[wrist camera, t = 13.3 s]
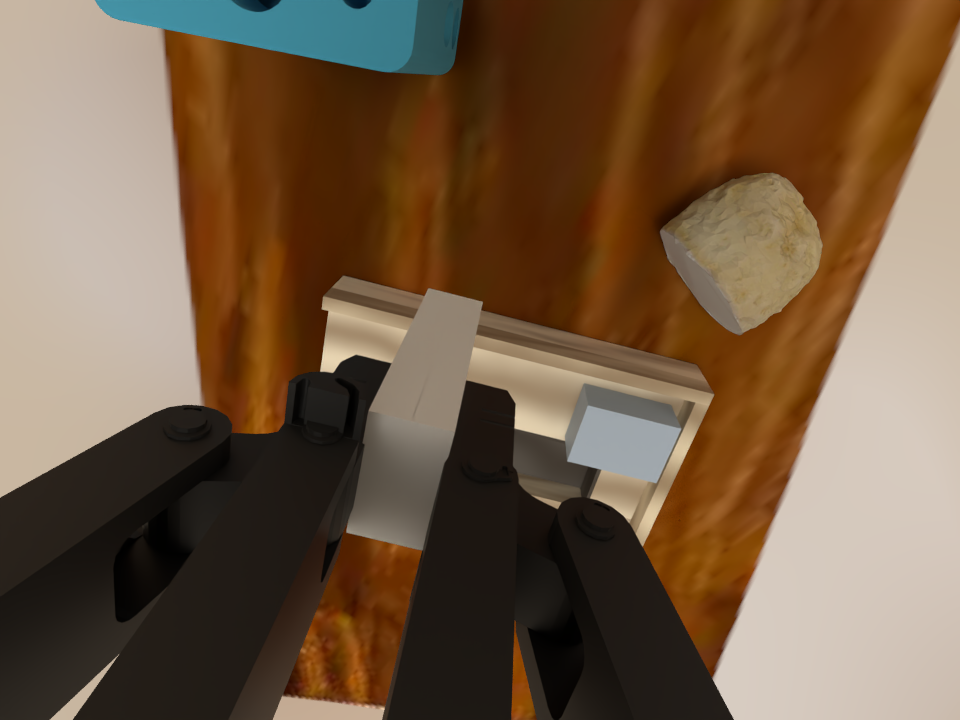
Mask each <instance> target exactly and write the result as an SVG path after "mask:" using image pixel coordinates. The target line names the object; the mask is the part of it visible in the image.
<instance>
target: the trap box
mask: <svg viewBox="0 0 960 720" xmlns="http://www.w3.org/2000/svg"><path fill="white" fill-rule="evenodd" d="M424 297H425V296H422V295H418V294H414V293H411V292H407V291H403V290H399V289H395V288H391V287H387V286H383V285H379V284H375V283H371V282H367V281H363V280H359V279H355V278H351V277H347V276H342V277H341V278H340V280H339V281H338V282H337V283H336V284H335V285H334V286H333V287H332V288H331V289H330V290H329V291H328V292H327V293H326V294H325V295H324V296H323V303H322V309H323V310H327V311H329V312H328V320H327V327H326V334H325V342H324V349H323V356H322V364H321V371H320V372H331V373H333V372H334V371H335V369H336V368H337V366H338V365H339V363H340V362H341V361H344V360H346V359H348V358H350V357H352V356H354V355H360V356H365V357H369V358H373V359H377V360H381V361H385V362H389V363H392V362H393V360H394V358H395V356H396V354H397V352H398V350H399V348H400V345H401V343H402V341H403V339H404V337H405V335H406V333H407V331H408V329H409V327H410V325H411V323H412V321H413V319H414V317H415V315H416V313H417V311H418V309H419V307H420V305H421V303H422V301H423V299H424ZM466 380H468V381H472V382H476V383H480V384H484V385H488V386H492V387H496V388H500V389H504V390H507V391H508V392H509V394H510V395H511V397H512V399H513V400H514V402H515V403H516V408H515V427H514V429H515V430H514V452H513V467H514V468H515V469H516V470H517V474H518V478H519V484H520V485H521V486H522V488H523V489H524V490H526V491H527V492H528V493H529V494H531V495H532V496H533V497H535V498H537V499H539V500H540V501H542V502H544V503H546V504H548V505H550V506H552V507H555V508H557V509H558V508H559V506H560V504H561V502H563V501H565V500H567V499H569V498H574V497H586V498H591V499H595V500H599V501H601V502H603V503H605V504H607V505H609V506H611V507H613V508H614V509H615V510H617V511H618V512H619V513H621V514H622V515H623V516H624V517H625V518H626V520H627V521H628V522H629V524H630V525H631V526H632V528H633V530H634V532H635V534H636V536H637V537H638V539H639V541H640V543H641V545H642V547H643V545H644V543H645V540H646V538H647V536H648V534H649V532H650V530H651V528H652V526H653V523H654V521H655V519H656V517H657V515H658V513H659V511H660V509H661V506H662V504H663V502H664V500H665V498H666V496H667V494H668V492H669V489H670V487H671V485H672V483H673V481H674V479H675V477H676V475H677V472H678V470H679V468H680V466H681V464H682V462H683V460H684V458H685V456H686V453H687V451H688V449H689V447H690V445H691V443H692V441H693V439H694V436H695V434H696V432H697V430H698V428H699V426H700V424H701V422H702V419H703V417H704V415H705V413H706V411H707V409H708V407H709V405H710V402H711V400H712V398H713V396H714V393H713V391H712V390H711V388H710V386H709V385H708V383H707V381H706V379H705V378H704V376H703V374H702V373H701V371H700V369H699V368H698V366H697V365H696V364H692V363H688V362H684V361H680V360H676V359H672V358H668V357H664V356H660V355H656V354H652V353H648V352H644V351H640V350H636V349H632V348H628V347H624V346H620V345H616V344H613V343H609V342H605V341H601V340H597V339H593V338H589V337H585V336H581V335H577V334H573V333H569V332H565V331H561V330H557V329H553V328H549V327H545V326H541V325H537V324H533V323H529V322H525V321H521V320H517V319H514V318H510V317H506V316H502V315H498V314H494V313H490V312H486V311H482V310H481V313H480V318H479V322H478V327H477V332H476V336H475V341H474V346H473V350H472V355H471V360H470V364H469V369H468V374H467V378H466ZM584 383H586V384H590V385H593V386H597V387H601V388H605V389H609V390H613V391H617V392H621V393H625V394H629V395H633V396H637V397H641V398H645V399H649V400H653V401H657V402H661V403H665V404H669V405H671V406H672V408H673V411H674V413H675V415H676V417H677V420H678V422H679V424H680V427H681V431H680V433H679V435H678V437H677V440H676V442H675V444H674V446H673V448H672V451H671V453H670V455H669V457H668V459H667V461H666V464H665V466H664V468H663V470H662V472H661V475H660V477H659V479H658V481H657V483H653V482H649V481H645V480H641V479H637V478H633V477H629V476H625V475H621V474H617V473H613V472H609V471H605V470H601V469H597V468H592V467H588V466H584V465H580V464H576V463H572V462H568V461H567V454H566V444H565V434H566V431H567V429H568V426H569V423H570V420H571V418H572V415H573V412H574V409H575V406H576V404H577V401H578V398H579V395H580V393H581V390H582V387H583V384H584Z"/></svg>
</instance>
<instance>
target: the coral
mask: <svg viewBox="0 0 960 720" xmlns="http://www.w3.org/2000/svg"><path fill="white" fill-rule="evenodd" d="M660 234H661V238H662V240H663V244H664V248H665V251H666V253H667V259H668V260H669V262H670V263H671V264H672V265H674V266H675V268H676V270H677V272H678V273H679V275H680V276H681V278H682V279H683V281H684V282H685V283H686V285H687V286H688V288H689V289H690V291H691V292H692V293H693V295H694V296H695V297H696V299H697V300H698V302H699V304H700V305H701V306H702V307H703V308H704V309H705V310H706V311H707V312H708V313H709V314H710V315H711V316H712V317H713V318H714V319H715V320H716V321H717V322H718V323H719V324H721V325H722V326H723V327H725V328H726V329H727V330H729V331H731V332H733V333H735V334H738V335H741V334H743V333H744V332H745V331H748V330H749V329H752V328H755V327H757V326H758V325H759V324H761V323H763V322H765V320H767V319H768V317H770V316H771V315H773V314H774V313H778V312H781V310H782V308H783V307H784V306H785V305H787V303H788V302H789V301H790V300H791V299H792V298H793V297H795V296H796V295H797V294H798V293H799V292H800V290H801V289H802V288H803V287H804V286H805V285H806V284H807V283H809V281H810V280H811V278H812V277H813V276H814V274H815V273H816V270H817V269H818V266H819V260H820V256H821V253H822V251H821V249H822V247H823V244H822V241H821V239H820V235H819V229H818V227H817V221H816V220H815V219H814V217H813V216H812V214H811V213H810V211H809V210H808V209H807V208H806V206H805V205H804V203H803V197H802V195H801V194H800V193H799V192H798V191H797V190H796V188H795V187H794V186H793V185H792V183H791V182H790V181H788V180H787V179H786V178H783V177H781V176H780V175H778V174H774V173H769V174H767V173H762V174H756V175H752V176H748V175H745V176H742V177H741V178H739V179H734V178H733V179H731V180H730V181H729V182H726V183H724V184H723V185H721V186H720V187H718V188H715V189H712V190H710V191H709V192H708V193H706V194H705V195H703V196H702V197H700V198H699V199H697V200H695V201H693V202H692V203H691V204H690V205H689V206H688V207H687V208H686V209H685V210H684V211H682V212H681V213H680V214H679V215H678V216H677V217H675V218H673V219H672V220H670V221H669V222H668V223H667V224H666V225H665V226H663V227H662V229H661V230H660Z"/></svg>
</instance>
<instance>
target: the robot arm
mask: <svg viewBox="0 0 960 720" xmlns="http://www.w3.org/2000/svg"><path fill="white" fill-rule="evenodd" d="M482 304H483V302H481V301H477V300H473V299H469V298H465V297H461V296H457V295H453V294H449V293H445V292H441V291H438V290H434V289H430V288H428V290H427V292H426V295H425V297H424V299H423V301H422V303H421V305H420V307H419V309H418V311H417V313H416V315H415V317H414V319H413V321H412V323H411V325H410V327H409V329H408V331H407V333H406V335H405V337H404V339H403V341H402V343H401V345H400V348H399V350H398V352H397V354H396V356H395V358H394V360H393V362H392V363H389V362H385V361H381V360H377V359H373V358H369V357H365V356H360V355H354V356H352V357H350V358H348V359H346V360H344V361H341V362H340V363H339V365H338V366H337V368H336V369H335V371H334V372H333V373H331V372H309V373H305V374H302V375H298V376H296V377H295V378H293V379H292V380H291V381H289V386H288V395H287V404H286V413H285V422H284V424H283V426H282V427H281V428H280V430H279V431H278V432H274V433H268V434H243V433H232V423H231V422H230V420H229V419H228V417H227V416H226V415H224V414H223V413H221V412H219V411H218V410H216V409H212V408H208V407H204V406H197V405H182V406H175V407H169V408H166V409H163V410H161V411H158V412H155V413H153V414H152V415H150V416H148V417H146V418H144V419H142V420H140V421H139V422H137V423H135V424H133V425H131V426H130V427H128V428H126V429H124V430H122V431H120V432H119V433H117V434H115V435H113V436H111V437H110V438H108V439H106V440H104V441H102V442H101V443H99V444H97V445H95V446H93V447H91V448H90V449H88V450H86V451H85V452H82V453H80V454H79V455H77V456H75V457H73V458H72V459H70V460H68V461H66V462H65V463H62V464H61V465H59V466H57V467H55V468H53V469H51V470H50V471H48V472H46V473H44V474H42V475H41V476H39V477H37V478H35V479H33V480H31V481H30V482H28V483H26V484H24V485H22V486H21V487H19V488H17V489H15V490H13V491H11V492H10V493H8V494H6V495H4V496H2V497H1V498H0V720H50V719H51V718H52V717H53V716H54V715H55V714H56V713H57V712H58V711H59V710H60V709H61V708H62V707H63V706H65V705H66V704H67V703H68V702H69V701H70V700H71V699H72V698H73V697H74V696H75V695H76V694H77V693H78V692H79V691H80V690H81V689H83V688H84V687H85V686H86V685H87V684H88V683H89V682H90V681H91V680H92V679H93V678H94V677H95V676H96V675H97V674H98V673H100V672H101V671H102V670H103V669H104V668H105V667H106V666H107V665H108V664H109V663H110V662H111V661H112V660H113V659H114V658H115V657H117V656H118V654H119V656H118V657H117V658H116V660H115V661H114V663H113V664H112V666H111V667H110V668H109V670H108V671H107V673H106V674H105V675H104V677H103V678H102V680H101V681H100V682H99V684H98V685H97V687H96V688H95V689H94V691H93V692H92V694H91V695H90V696H89V698H88V699H87V701H86V702H85V703H84V705H83V706H82V708H81V709H80V710H79V712H78V713H77V715H76V716H75V717H74V719H73V720H273V717H274V715H275V712H276V710H277V707H278V704H279V702H280V700H281V697H282V695H283V692H284V690H285V687H286V685H287V682H288V680H289V677H290V675H291V672H292V670H293V667H294V665H295V662H296V660H297V657H298V655H299V652H300V650H301V647H302V645H303V642H304V640H305V637H306V635H307V632H308V630H309V627H310V625H311V622H312V620H313V617H314V615H315V612H316V610H317V607H318V605H319V602H320V600H321V597H322V595H323V592H324V590H325V587H326V585H327V582H328V580H329V577H330V575H331V572H332V570H333V567H334V565H335V562H336V560H337V557H338V555H339V551H340V546H341V540H342V535H343V531H344V528H345V526H346V524H347V521H348V519H349V521H348V526H347V533H351V534H355V535H359V536H364V537H368V538H372V539H376V540H380V541H385V542H389V543H393V544H397V545H401V546H405V547H410V548H414V549H418V550H422V554H421V558H420V562H419V566H418V570H417V574H416V577H415V581H414V585H413V589H412V593H411V597H410V604H409V608H408V612H407V616H406V621H405V625H404V629H403V633H402V638H401V642H400V646H399V650H398V655H397V659H396V663H395V668H394V672H393V676H392V680H391V685H390V689H389V693H388V697H387V702H386V706H385V710H384V714H383V719H382V720H511V707H512V677H513V647H514V620H515V621H516V633H517V637H518V642H519V646H520V650H521V654H522V658H523V662H524V667H525V671H526V675H527V679H528V683H529V688H530V692H531V696H532V700H533V704H534V708H535V713H536V717H537V720H734V719H733V717H732V715H731V714H730V712H729V710H728V708H727V706H726V704H725V702H724V700H723V698H722V697H721V695H720V693H719V691H718V689H717V687H716V685H715V683H714V681H713V679H712V678H711V676H710V674H709V672H708V670H707V668H706V666H705V664H704V662H703V660H702V659H701V657H700V655H699V653H698V651H697V649H696V647H695V645H694V643H693V642H692V640H691V638H690V636H689V634H688V632H687V630H686V628H685V626H684V625H683V623H682V621H681V619H680V617H679V615H678V613H677V611H676V609H675V607H674V606H673V604H672V602H671V600H670V598H669V596H668V594H667V592H666V590H665V589H664V587H663V585H662V583H661V581H660V579H659V577H658V575H657V573H656V572H655V570H654V568H653V566H652V564H651V562H650V560H649V558H648V556H647V554H646V553H645V551H644V549H643V547H642V545H641V543H640V541H639V539H638V537H637V536H636V534H635V532H634V530H633V528H632V526H631V525H630V524H629V522H628V521H627V520H626V518H625V517H624V516H623V515H622V514H621V513H619V512H618V511H617V510H615V509H614V508H613V507H611V506H609V505H607V504H605V503H603V502H601V501H599V500H595V499H591V498H586V497H574V498H569V499H567V500H565V501H563V502H561V504H560V506H559V508H558V509H557V508H555V507H552V506H550V505H548V504H546V503H544V502H542V501H540V500H539V499H537V498H535V497H533V496H532V495H531V494H529V493H528V492H527V491H526V490H524V489H523V488H522V486H521V485H520V484H519V478H518V474H517V470H516V469H515V468H514V467H513V452H514V430H515V429H514V427H515V408H516V403H515V402H514V400H513V399H512V397H511V395H510V394H509V392H508V391H507V390H504V389H500V388H496V387H492V386H488V385H484V384H480V383H476V382H472V381H468V380H466V378H467V374H468V369H469V364H470V360H471V355H472V350H473V346H474V341H475V336H476V332H477V327H478V322H479V318H480V313H481V308H482Z"/></svg>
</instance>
